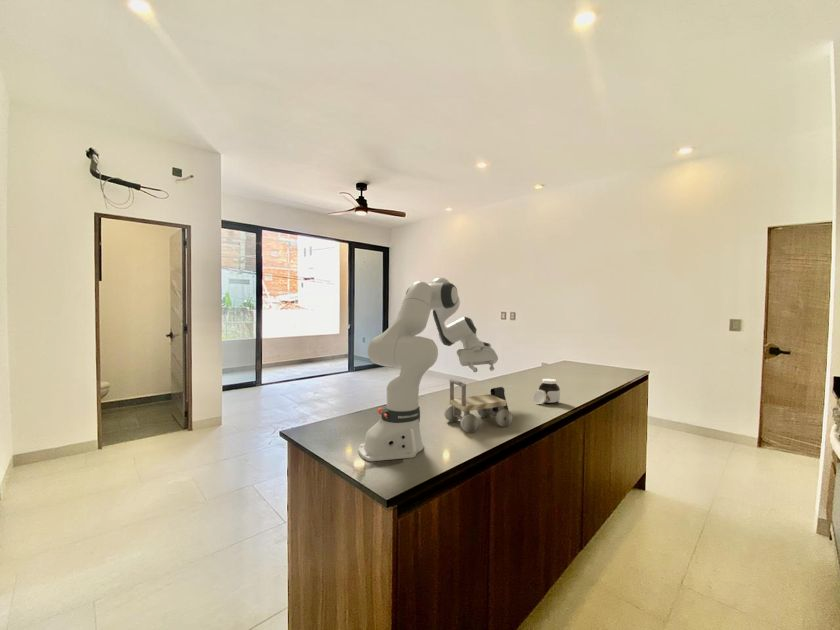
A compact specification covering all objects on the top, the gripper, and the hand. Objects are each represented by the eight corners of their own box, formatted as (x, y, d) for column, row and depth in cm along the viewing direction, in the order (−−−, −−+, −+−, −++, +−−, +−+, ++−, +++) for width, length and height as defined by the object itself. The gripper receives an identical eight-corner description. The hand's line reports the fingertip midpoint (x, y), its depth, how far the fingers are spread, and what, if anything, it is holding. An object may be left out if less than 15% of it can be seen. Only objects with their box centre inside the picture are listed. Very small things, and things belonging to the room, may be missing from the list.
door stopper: (509, 415, 160) (509, 388, 160) (500, 417, 157) (500, 390, 157) (495, 410, 168) (494, 385, 167) (485, 412, 164) (485, 386, 164)
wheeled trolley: (463, 434, 137) (462, 385, 137) (444, 421, 152) (444, 377, 152) (512, 425, 146) (512, 380, 146) (490, 415, 161) (490, 373, 160)
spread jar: (561, 402, 181) (561, 379, 181) (556, 407, 171) (556, 383, 171) (537, 399, 187) (537, 377, 187) (531, 404, 178) (531, 381, 177)
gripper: (457, 345, 175) (467, 368, 166) (492, 343, 183) (504, 365, 174) (453, 353, 179) (463, 376, 170) (488, 351, 187) (499, 372, 178)
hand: (484, 370), depth 172 cm, fingers open, 8 cm apart
